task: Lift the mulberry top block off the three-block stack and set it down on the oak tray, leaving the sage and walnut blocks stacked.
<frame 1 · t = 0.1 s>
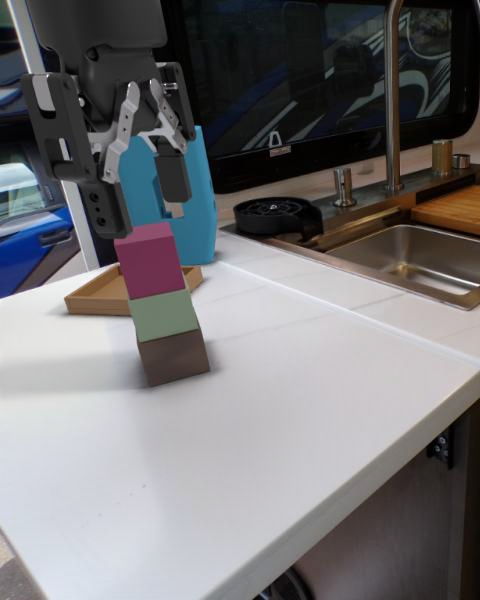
hand: (150, 217, 39), 19 cm above the worktop, tool pointing down, fingers open, 8 cm apart
sage block: (167, 324, 54), point 5 cm above the worktop, touching mulberry block, walnut block
mulberry block: (156, 285, 52), point 9 cm above the worktop, touching sage block
tray: (140, 296, 72), on the worktop
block: (186, 261, 84), on the worktop
walnut block: (177, 364, 56), on the worktop, touching sage block
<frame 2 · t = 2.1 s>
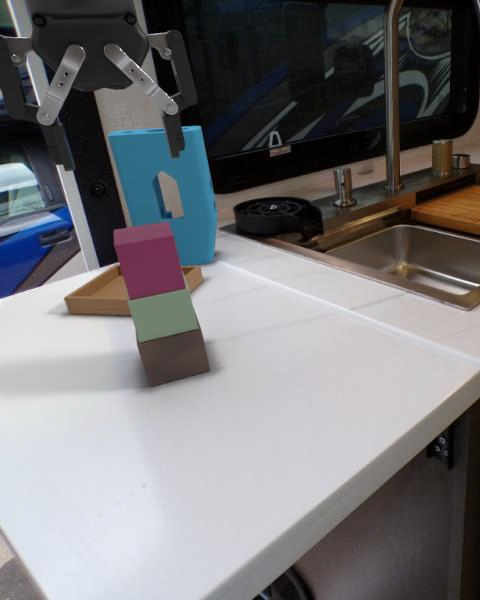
hand: (124, 163, 47), 22 cm above the worktop, tool pointing down, fingers open, 8 cm apart
nothing on the worktop moved.
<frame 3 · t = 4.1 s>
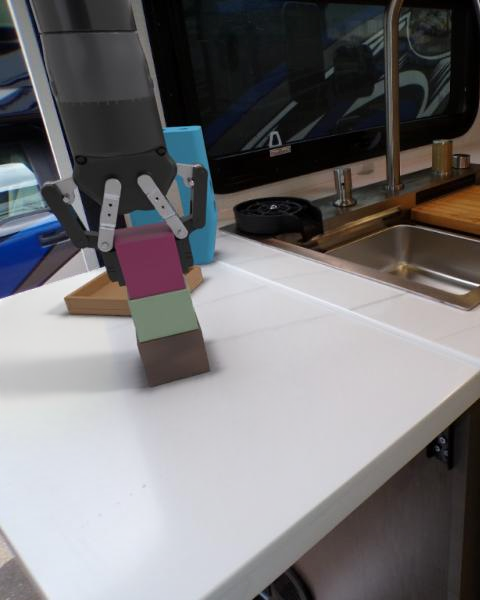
hand: (154, 276, 52), 10 cm above the worktop, tool pointing down, fingers closed on mulberry block, 5 cm apart
mulberry block: (156, 284, 52), point 9 cm above the worktop, touching gripper, sage block
everything else where it was.
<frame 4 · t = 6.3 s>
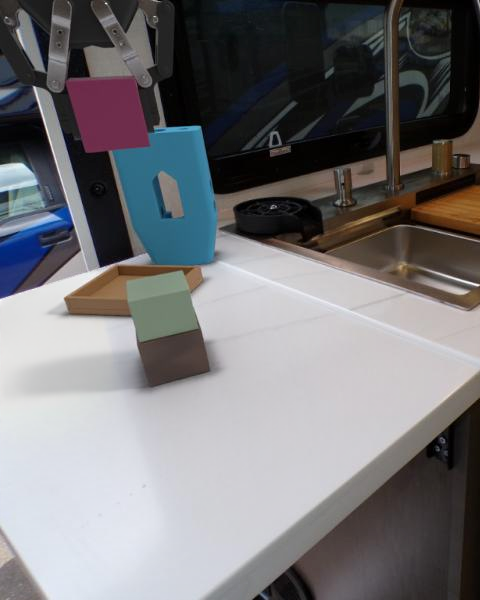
hand: (115, 134, 46), 24 cm above the worktop, tool pointing down, fingers closed on mulberry block, 5 cm apart
sage block: (167, 324, 54), point 5 cm above the worktop, touching walnut block
mulberry block: (118, 145, 46), point 23 cm above the worktop, touching gripper
everything else where it was.
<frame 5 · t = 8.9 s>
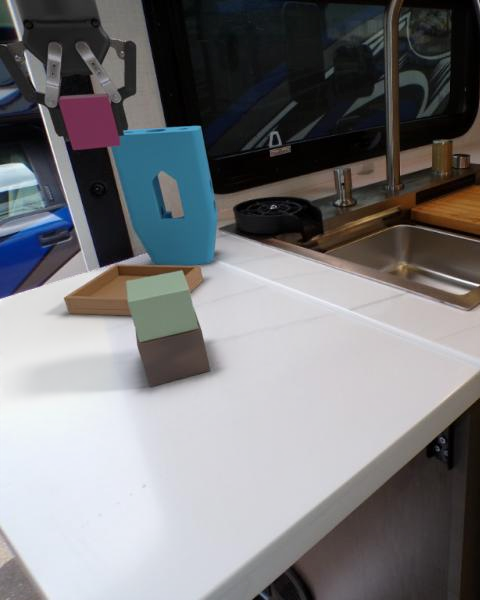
hand: (95, 137, 63), 21 cm above the worktop, tool pointing down, fingers closed on mulberry block, 5 cm apart
mulberry block: (97, 144, 63), point 20 cm above the worktop, touching gripper
everything else where it was.
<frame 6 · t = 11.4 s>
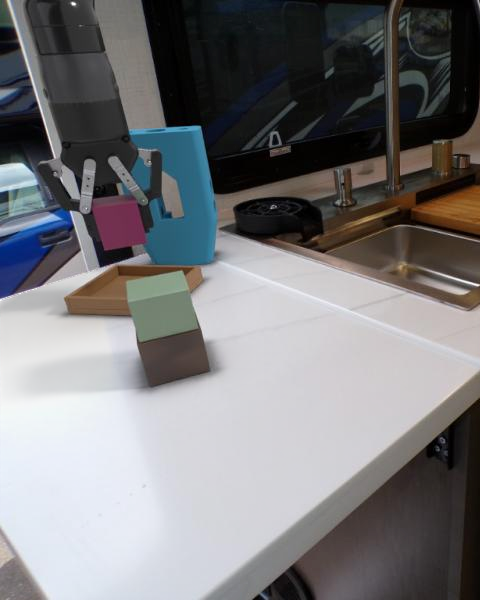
hand: (123, 234, 68), 9 cm above the worktop, tool pointing down, fingers closed on mulberry block, 5 cm apart
mulberry block: (125, 241, 69), point 8 cm above the worktop, touching gripper
everything else where it was.
when the fingers open (2 cm above the worktop, at t = 13.6 s): mulberry block stays where it is, resting on tray.
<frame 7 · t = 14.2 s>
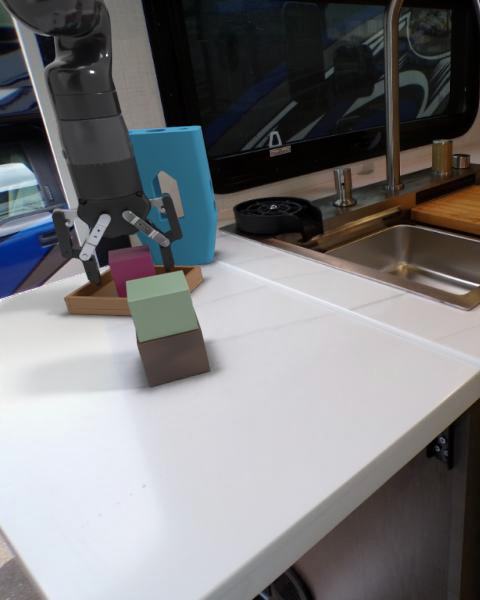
hand: (134, 276, 71), 3 cm above the worktop, tool pointing down, fingers open, 8 cm apart
mulberry block: (139, 290, 72), point 1 cm above the worktop, touching tray
everything else where it was.
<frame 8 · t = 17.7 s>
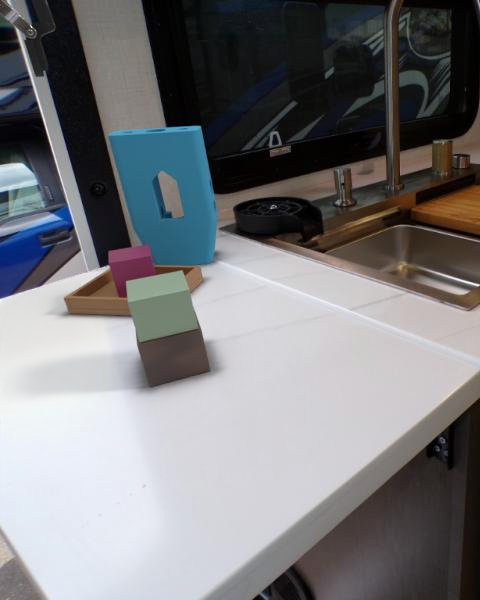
nothing on the worktop moved.
at the end: mulberry block inside the target area in the tray (0.1 cm from its centre), point 0.8 cm above the tray's base; mulberry block tilted 0°; sage block point 5.0 cm above the worktop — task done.
